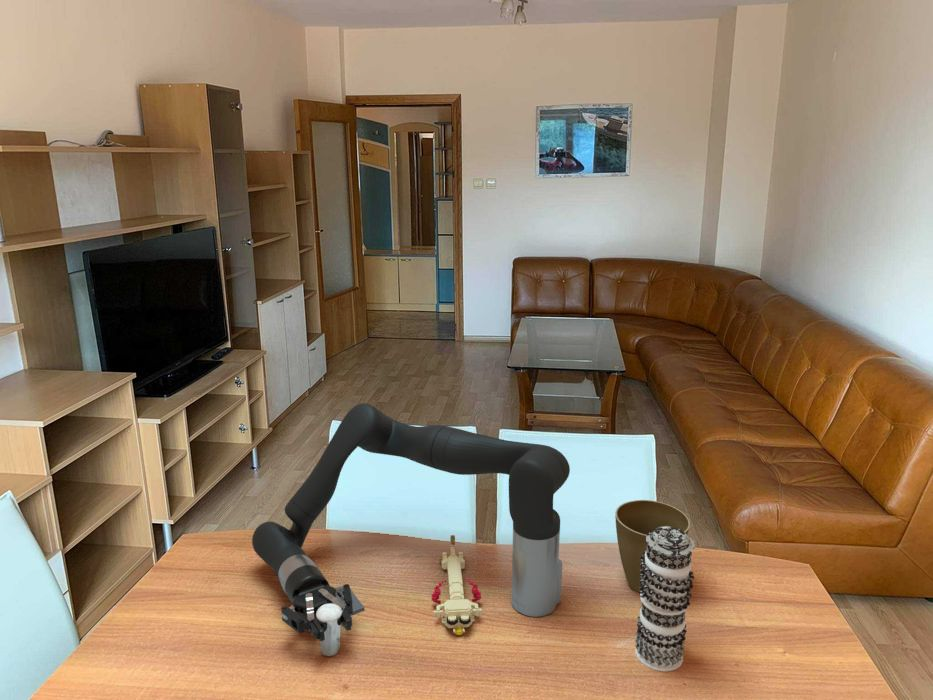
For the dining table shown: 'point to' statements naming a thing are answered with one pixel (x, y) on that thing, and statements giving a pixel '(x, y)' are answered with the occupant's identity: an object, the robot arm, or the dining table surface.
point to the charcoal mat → (356, 603)
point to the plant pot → (642, 531)
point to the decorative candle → (664, 598)
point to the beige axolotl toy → (456, 594)
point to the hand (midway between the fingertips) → (335, 631)
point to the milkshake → (330, 627)
